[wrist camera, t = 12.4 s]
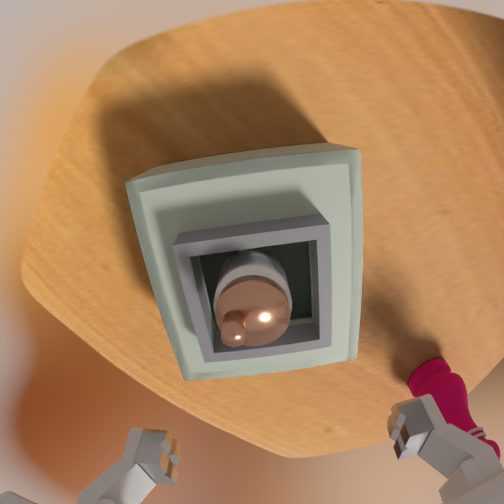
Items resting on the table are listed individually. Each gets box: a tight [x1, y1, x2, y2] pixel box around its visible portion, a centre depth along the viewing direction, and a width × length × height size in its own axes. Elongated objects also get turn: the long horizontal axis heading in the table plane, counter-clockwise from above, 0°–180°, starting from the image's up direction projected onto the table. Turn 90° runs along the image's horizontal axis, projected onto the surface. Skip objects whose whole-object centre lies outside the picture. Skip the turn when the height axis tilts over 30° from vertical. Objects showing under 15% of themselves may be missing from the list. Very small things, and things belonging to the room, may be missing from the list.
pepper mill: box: [408, 358, 500, 461], centre depth 25 cm, size 7×7×20 cm
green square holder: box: [125, 142, 363, 381], centre depth 22 cm, size 14×16×9 cm
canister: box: [213, 245, 292, 347], centre depth 20 cm, size 4×4×12 cm
